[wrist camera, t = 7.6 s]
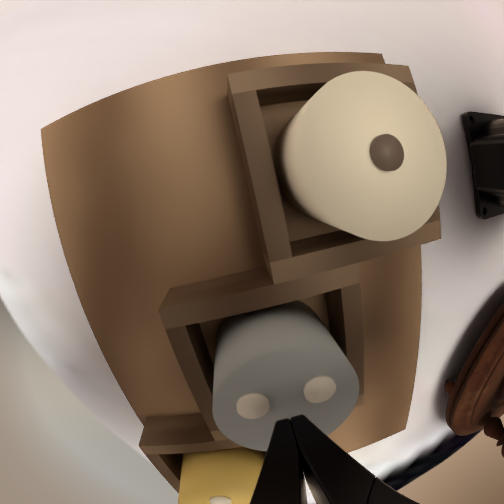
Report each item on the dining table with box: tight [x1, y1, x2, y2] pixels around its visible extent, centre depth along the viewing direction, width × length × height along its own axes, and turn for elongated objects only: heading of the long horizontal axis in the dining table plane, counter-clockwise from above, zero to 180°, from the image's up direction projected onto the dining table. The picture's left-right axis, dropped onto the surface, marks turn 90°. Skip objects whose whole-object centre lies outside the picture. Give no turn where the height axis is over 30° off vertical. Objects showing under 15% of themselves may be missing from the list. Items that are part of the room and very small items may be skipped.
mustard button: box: [178, 446, 267, 504], centre depth 11 cm, size 5×5×4 cm
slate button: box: [212, 300, 359, 451], centre depth 10 cm, size 5×5×4 cm
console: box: [41, 52, 441, 493], centre depth 12 cm, size 16×23×3 cm
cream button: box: [274, 71, 447, 241], centre depth 8 cm, size 5×5×4 cm
